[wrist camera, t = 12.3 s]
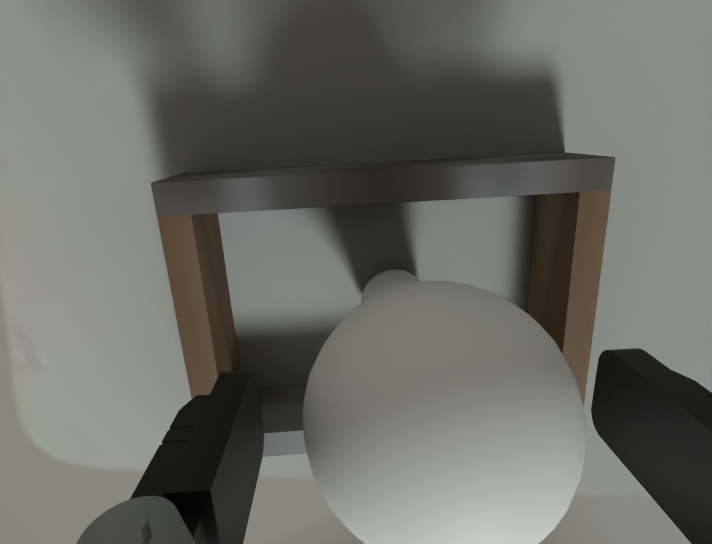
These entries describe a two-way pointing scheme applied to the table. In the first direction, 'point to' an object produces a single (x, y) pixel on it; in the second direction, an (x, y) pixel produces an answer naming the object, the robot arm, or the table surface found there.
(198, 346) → the brown wooden shallow box
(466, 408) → the lightbulb
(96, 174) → the table surface
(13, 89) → the table surface
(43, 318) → the table surface
